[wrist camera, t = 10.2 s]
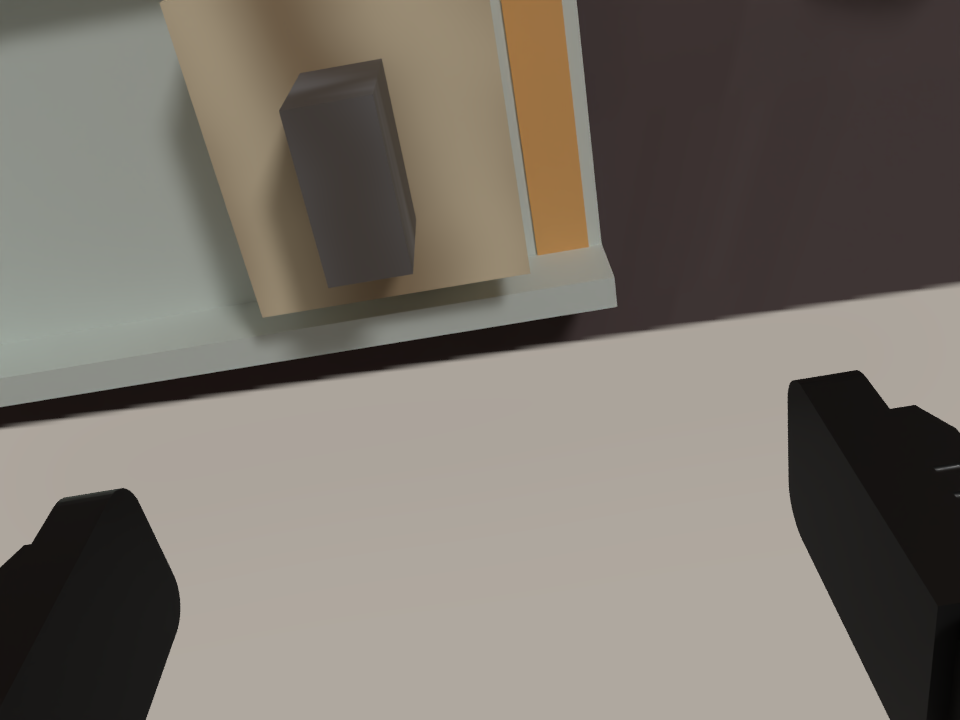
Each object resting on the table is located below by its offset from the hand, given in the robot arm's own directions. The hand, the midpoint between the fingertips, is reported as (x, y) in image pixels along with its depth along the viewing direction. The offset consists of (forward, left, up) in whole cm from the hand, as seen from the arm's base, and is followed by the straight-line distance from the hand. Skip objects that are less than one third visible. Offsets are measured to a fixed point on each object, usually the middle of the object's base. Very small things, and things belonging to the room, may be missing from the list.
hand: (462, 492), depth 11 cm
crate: (+2, +2, -23) cm, 23 cm away
